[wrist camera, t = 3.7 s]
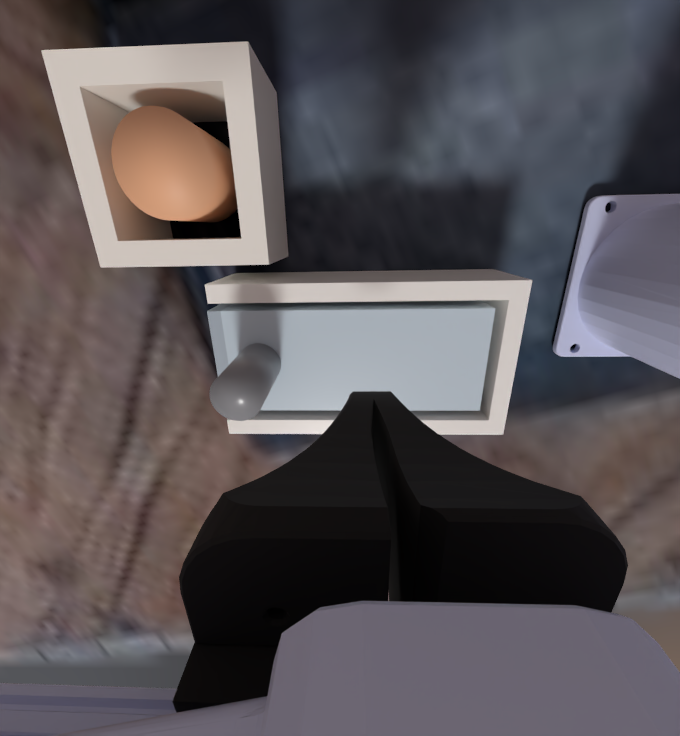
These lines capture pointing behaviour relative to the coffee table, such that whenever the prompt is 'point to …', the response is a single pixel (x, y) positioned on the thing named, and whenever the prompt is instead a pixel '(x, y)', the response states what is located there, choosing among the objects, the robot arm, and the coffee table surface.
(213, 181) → the plunger button
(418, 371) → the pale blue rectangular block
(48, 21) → the coffee table surface
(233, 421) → the cartridge sleeve
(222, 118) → the button housing
